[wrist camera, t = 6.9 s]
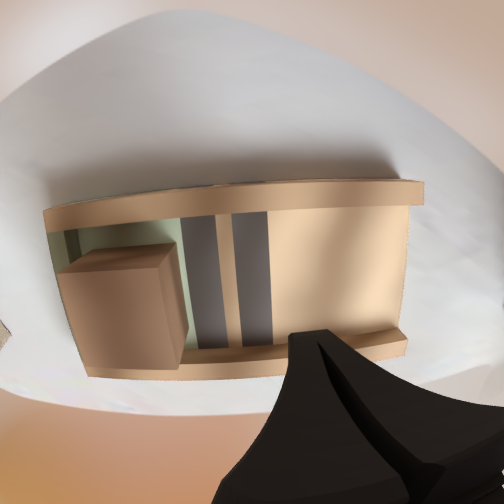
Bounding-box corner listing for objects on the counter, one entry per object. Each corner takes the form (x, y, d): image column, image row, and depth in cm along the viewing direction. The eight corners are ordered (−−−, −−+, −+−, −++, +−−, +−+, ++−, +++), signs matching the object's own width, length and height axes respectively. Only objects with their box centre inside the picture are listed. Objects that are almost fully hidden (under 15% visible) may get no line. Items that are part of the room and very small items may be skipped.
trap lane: (401, 178, 16) (424, 182, 14) (389, 335, 19) (404, 355, 17) (65, 203, 16) (42, 210, 13) (101, 355, 19) (87, 376, 16)
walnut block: (176, 242, 16) (157, 267, 12) (189, 327, 17) (177, 369, 13) (92, 249, 15) (56, 273, 12) (110, 329, 17) (85, 366, 13)
